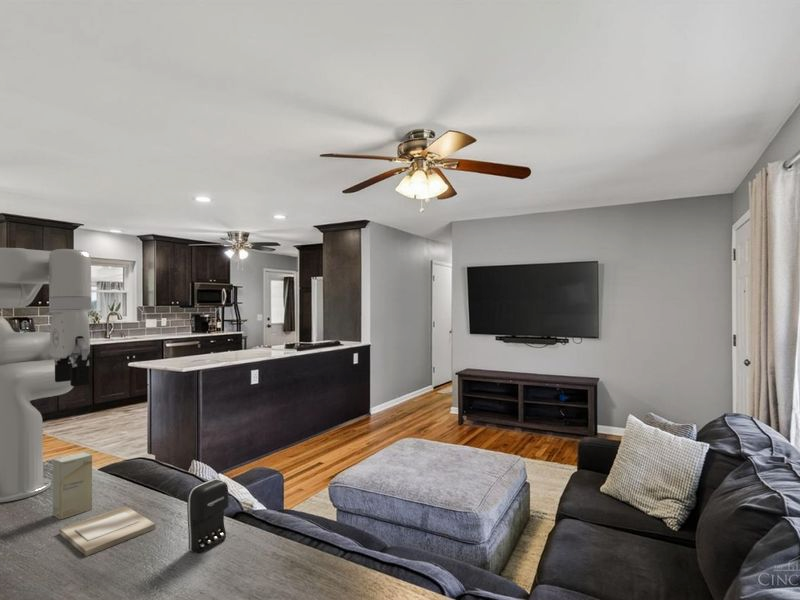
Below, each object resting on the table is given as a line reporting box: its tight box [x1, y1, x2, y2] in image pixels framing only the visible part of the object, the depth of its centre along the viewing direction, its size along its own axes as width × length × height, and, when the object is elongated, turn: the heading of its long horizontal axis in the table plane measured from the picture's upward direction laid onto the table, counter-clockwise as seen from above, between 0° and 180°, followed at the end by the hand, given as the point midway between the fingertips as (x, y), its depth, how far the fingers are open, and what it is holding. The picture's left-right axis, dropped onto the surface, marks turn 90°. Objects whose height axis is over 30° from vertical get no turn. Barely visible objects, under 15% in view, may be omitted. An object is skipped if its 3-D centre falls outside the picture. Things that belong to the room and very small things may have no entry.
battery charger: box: [186, 478, 230, 553], centre depth 83 cm, size 7×4×11 cm, turn 150°
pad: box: [59, 505, 157, 557], centre depth 89 cm, size 14×12×1 cm
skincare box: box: [52, 451, 93, 520], centre depth 98 cm, size 6×4×12 cm
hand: (71, 383), depth 98 cm, fingers open, 9 cm apart
